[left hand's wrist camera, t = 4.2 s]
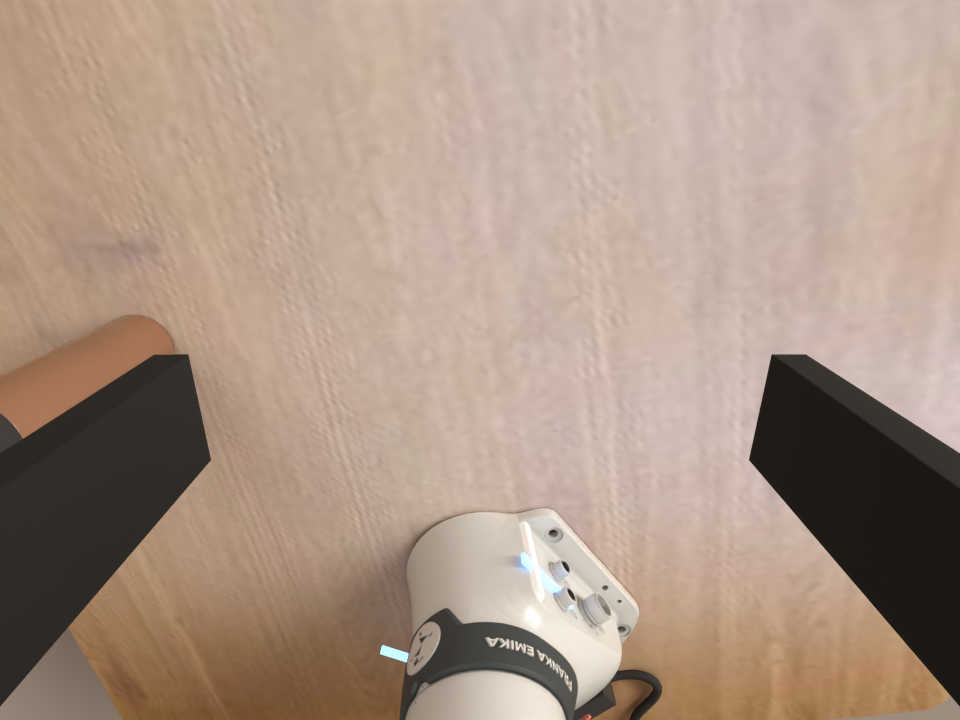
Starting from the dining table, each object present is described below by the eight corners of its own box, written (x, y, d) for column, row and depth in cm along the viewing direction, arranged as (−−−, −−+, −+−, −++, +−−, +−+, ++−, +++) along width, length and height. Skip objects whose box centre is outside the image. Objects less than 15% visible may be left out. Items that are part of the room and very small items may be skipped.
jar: (103, 359, 42) (-121, 486, 26) (116, 304, 40) (-115, 404, 25) (166, 383, 43) (-16, 521, 27) (181, 330, 41) (-3, 444, 26)
